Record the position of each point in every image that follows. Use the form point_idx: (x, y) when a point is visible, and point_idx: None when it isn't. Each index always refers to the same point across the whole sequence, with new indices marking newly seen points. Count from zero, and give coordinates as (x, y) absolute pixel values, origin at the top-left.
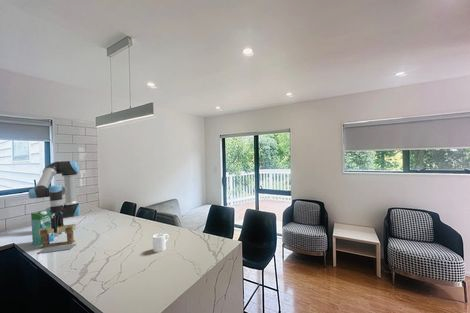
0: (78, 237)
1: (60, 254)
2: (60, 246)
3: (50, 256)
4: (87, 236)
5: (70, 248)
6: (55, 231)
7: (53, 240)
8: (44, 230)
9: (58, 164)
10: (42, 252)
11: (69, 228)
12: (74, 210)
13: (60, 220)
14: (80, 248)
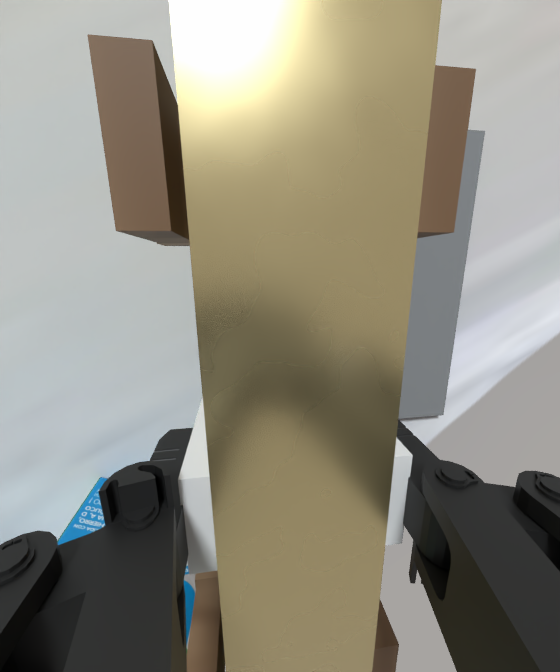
0: (49, 220)
1: (557, 185)
2: None
3: (553, 261)
4: (29, 82)
5: (476, 130)
6: (406, 435)
7: (102, 478)
8: (388, 654)
9: None
10: (447, 378)
11: (452, 95)
12: None
13: None
14: (500, 8)
